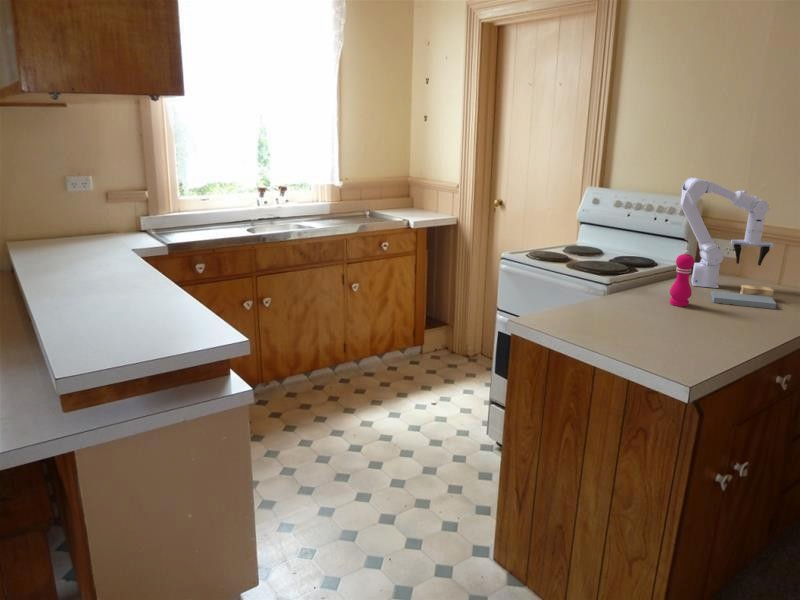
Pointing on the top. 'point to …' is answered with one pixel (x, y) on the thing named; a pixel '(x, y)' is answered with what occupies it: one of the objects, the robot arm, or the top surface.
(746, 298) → the slate board
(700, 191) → the robot arm
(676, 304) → the pepper mill
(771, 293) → the oak bar
